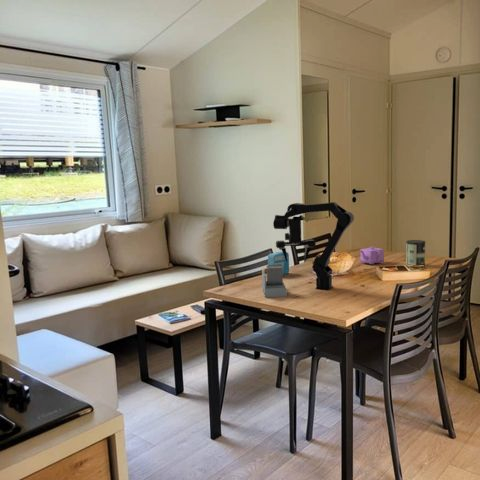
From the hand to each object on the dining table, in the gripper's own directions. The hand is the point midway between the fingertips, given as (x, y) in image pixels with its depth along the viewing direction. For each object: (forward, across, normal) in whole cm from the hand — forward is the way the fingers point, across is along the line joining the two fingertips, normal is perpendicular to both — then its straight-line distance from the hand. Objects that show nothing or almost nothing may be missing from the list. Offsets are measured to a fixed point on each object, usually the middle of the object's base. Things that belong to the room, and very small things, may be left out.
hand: (295, 261), depth 252 cm
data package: (+13, +6, -28) cm, 32 cm away
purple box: (+13, -50, -49) cm, 71 cm away
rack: (+12, +12, +11) cm, 21 cm away
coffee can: (+13, -72, -37) cm, 82 cm away
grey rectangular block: (+12, +12, +11) cm, 20 cm away
